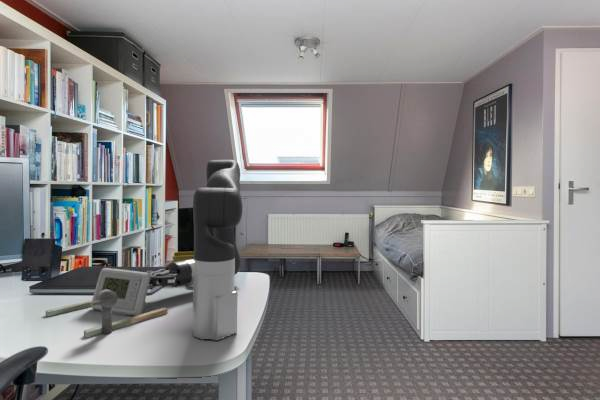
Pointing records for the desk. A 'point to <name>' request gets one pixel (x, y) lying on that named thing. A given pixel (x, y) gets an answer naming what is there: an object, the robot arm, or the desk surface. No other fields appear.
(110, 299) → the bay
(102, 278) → the digital clock
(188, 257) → the flower pot
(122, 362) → the desk surface
